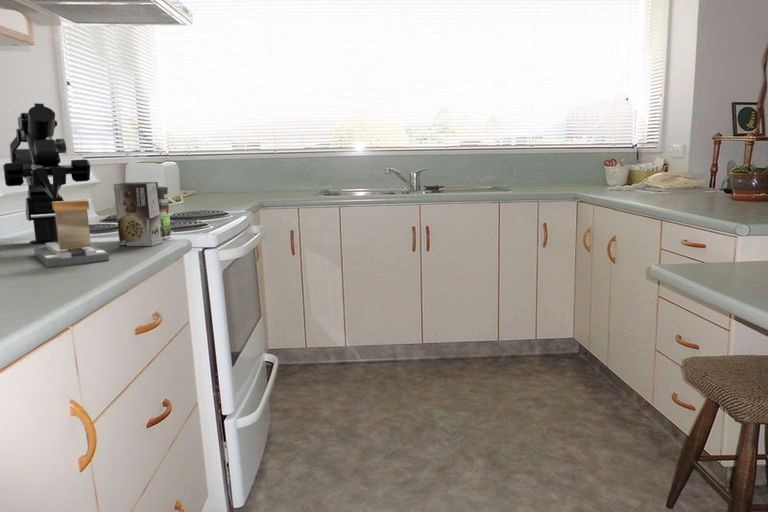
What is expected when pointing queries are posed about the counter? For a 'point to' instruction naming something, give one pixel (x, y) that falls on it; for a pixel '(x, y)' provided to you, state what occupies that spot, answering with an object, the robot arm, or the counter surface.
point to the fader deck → (69, 255)
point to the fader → (72, 225)
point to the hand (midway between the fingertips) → (54, 197)
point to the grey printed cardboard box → (138, 213)
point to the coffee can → (164, 212)
